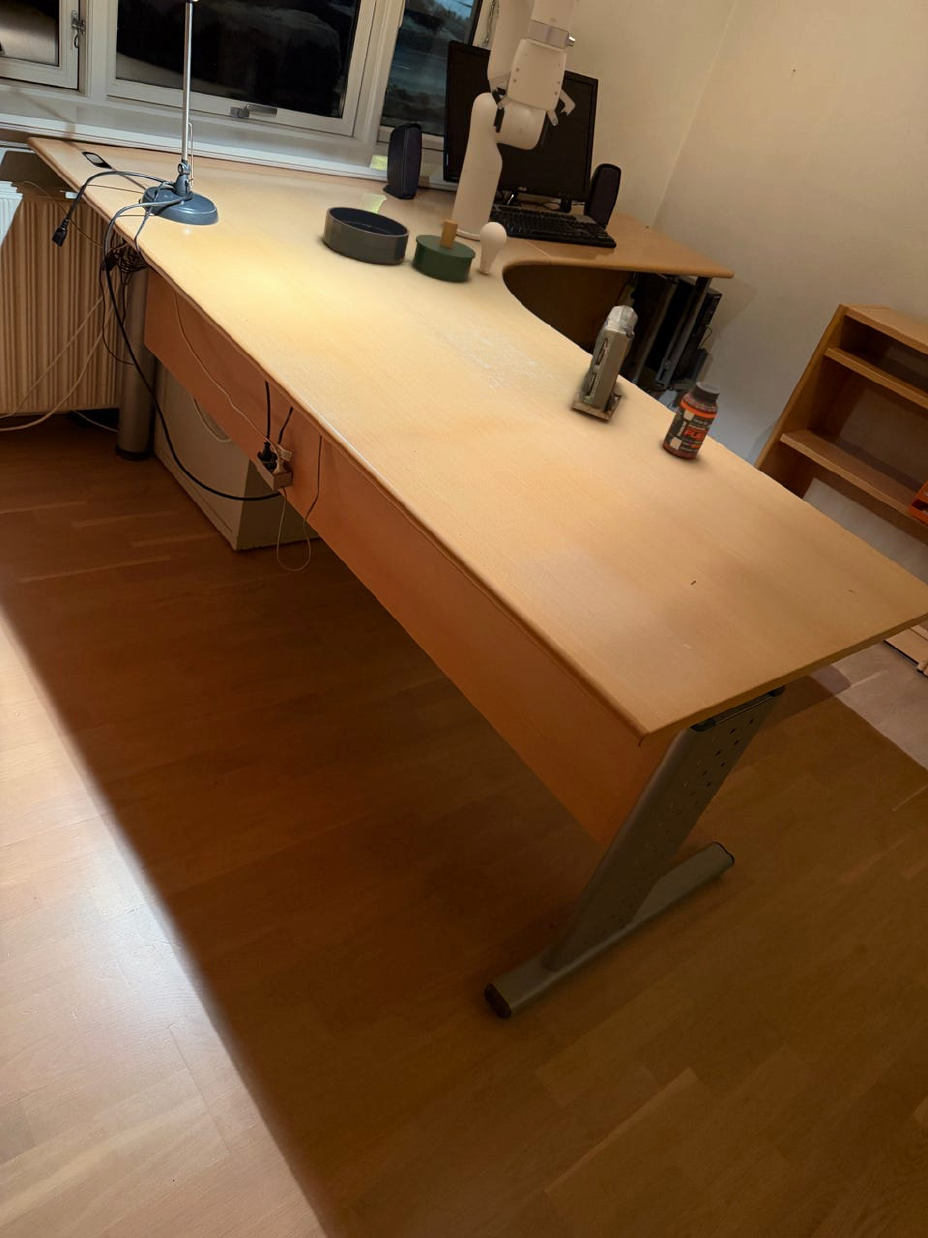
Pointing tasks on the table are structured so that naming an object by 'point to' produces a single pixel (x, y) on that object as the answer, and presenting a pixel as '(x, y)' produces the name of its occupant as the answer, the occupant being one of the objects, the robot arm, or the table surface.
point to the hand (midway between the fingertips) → (520, 138)
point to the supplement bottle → (692, 421)
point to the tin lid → (446, 243)
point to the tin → (441, 265)
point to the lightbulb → (491, 244)
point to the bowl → (365, 235)
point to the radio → (607, 364)
